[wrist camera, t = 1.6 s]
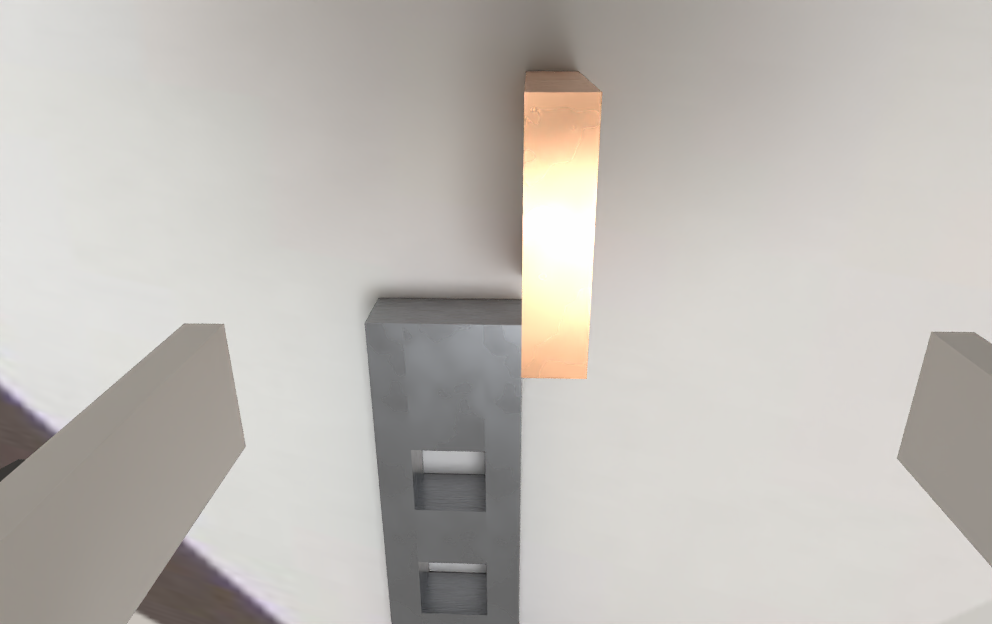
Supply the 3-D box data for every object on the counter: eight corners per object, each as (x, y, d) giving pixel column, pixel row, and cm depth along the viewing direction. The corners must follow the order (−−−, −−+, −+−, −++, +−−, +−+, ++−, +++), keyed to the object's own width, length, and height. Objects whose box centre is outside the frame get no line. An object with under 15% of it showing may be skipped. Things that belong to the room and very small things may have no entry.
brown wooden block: (525, 71, 28) (524, 92, 19) (578, 71, 28) (602, 92, 19) (523, 276, 32) (521, 377, 23) (569, 277, 32) (586, 378, 22)
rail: (378, 298, 33) (364, 323, 30) (522, 299, 32) (521, 325, 29) (406, 653, 42) (398, 697, 39) (518, 657, 42) (517, 701, 39)
